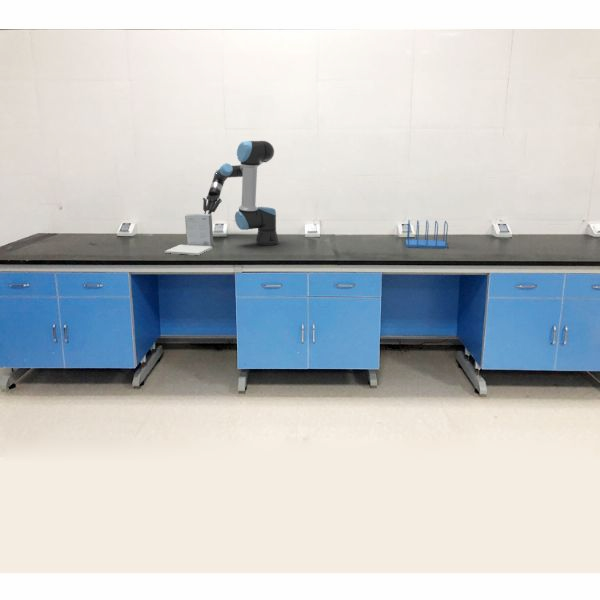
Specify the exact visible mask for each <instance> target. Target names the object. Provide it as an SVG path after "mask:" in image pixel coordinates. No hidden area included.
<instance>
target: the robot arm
mask: <svg viewBox="0 0 600 600" xmlns="http://www.w3.org/2000/svg"><path fill="white" fill-rule="evenodd" d="M274 155H275V149H274V146H273V144H271V143H270V142H269V141H266V140H246V141H242V142H240V143H239V145H238V146H237V150H236V156H237V160H238V162H240V164H237V165H231V164H229V163H226V162H225V163H223V164H222V165H221V166H220V167H219V169H216V170H215V172H214V175H213V178H212V182H211V184H210V186H209V190H208V194H207V196H206V197H202V200H203V201H202V202H203V203H202V204H203V205H202V206H203V207H202V210H203V211H204V214H212V213H215V212H216V210H217V209H218V207H219V205H220V204H221V203H222V199H221V198H220V195H221V193H222V190H223V186H224V184H225V181H226V180H227V179H229V178H242V180H241V183H242V184H241V185H242V187H241V205H240V206H239V207H238V211H236V212H235V214H234V219H235V220H234V221H235V223H236V226H237V228H238V229H240V230H241V231H244V230H245V231H246V230H247V231H248V230H255V229H257V234H256V237H255V245H259V246H274V245H275V244H276V245H279V244H280V239H279V235H278V233H277V213H276V211H277V210H276V209H275V208H273V207H267V206H256V204H257V203H256V201H257V197H256V196H257V180H258V179H257V178H258V167H259V166H261V165H262V164H263V163H268V162H269V161H271V160H272V159H273V158H274ZM216 173H217V174H216Z"/></svg>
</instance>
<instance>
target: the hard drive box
mask: <svg viewBox="0 0 600 600" xmlns="http://www.w3.org/2000/svg"><path fill="white" fill-rule="evenodd" d="M212 217H213V216H212V213H211V214H205V213H188V214H186V215H185V216H184V219H185V232H186V233H185V234H186V245H196V246H212V247H213V246H214V232H213V218H212Z"/></svg>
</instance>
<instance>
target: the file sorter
mask: <svg viewBox="0 0 600 600" xmlns="http://www.w3.org/2000/svg"><path fill="white" fill-rule="evenodd" d="M438 223H439V222H438V221H437V220H435V222H434V237H433V239H429V237H428V236H429V227H430V226H429V224H430V223H429V221H428V220H426V221H425V234H424V236H425V237H424V239H419V237H420V236H419V235H420V233H419V232H420V231H419V230H420V221H419V220H418V219H417V220H416V231H417V232H416V234H415V235H416V236H415V239H411V238H410V229H411V221H410V219H408V221H407V236H406V239H405V245H406V248H423V249H424V248H425V249H445V248H447V249H448V244H447V241H448V240H447V239H448V231H449V230H448V227H449V225H448V221H447V220H445V221H444V226H443V235H442V236H443V237H442V240H440V239H438V232H439V224H438ZM445 232H446V233H445Z"/></svg>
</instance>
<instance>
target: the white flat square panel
mask: <svg viewBox="0 0 600 600" xmlns="http://www.w3.org/2000/svg"><path fill="white" fill-rule="evenodd" d="M211 250H213V246H196V245H187V244H178V245H176V246H173V247H171V248H168V249H167V250H164V254H165V253H171V254H170V255H179V254H188V255H187V256H194V255H199V256H200V254H201V255H202V253H203V254H205V253H207V252H209V251H211ZM206 251H207V252H206ZM204 252H205V253H204Z"/></svg>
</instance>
